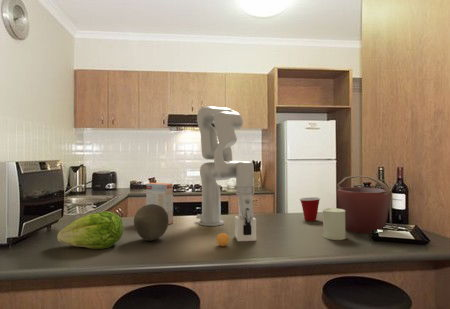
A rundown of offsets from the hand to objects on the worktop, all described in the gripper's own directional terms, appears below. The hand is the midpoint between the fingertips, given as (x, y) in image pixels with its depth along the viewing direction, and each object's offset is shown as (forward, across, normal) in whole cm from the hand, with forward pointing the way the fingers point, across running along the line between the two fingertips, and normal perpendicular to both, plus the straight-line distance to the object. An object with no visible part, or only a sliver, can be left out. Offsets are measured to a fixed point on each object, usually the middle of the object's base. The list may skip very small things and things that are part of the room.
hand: (245, 232), depth 129 cm
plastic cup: (+3, +30, -41) cm, 51 cm away
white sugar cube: (+3, 0, 0) cm, 3 cm away
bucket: (+3, +7, -58) cm, 58 cm away
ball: (0, -10, +11) cm, 14 cm away
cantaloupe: (+3, +2, +39) cm, 39 cm away
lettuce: (+3, -3, +62) cm, 62 cm away
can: (+3, -3, -38) cm, 38 cm away
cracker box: (+3, +35, +39) cm, 53 cm away
